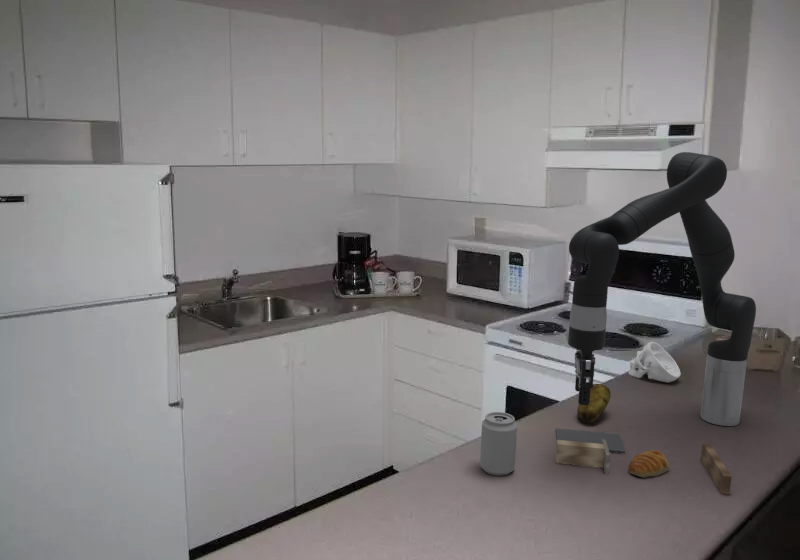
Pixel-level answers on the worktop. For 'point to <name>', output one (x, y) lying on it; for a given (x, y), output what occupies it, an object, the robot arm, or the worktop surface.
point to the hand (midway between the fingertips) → (581, 397)
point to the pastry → (649, 464)
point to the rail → (716, 468)
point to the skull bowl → (654, 364)
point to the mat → (592, 438)
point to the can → (498, 443)
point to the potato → (594, 403)
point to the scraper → (583, 453)
